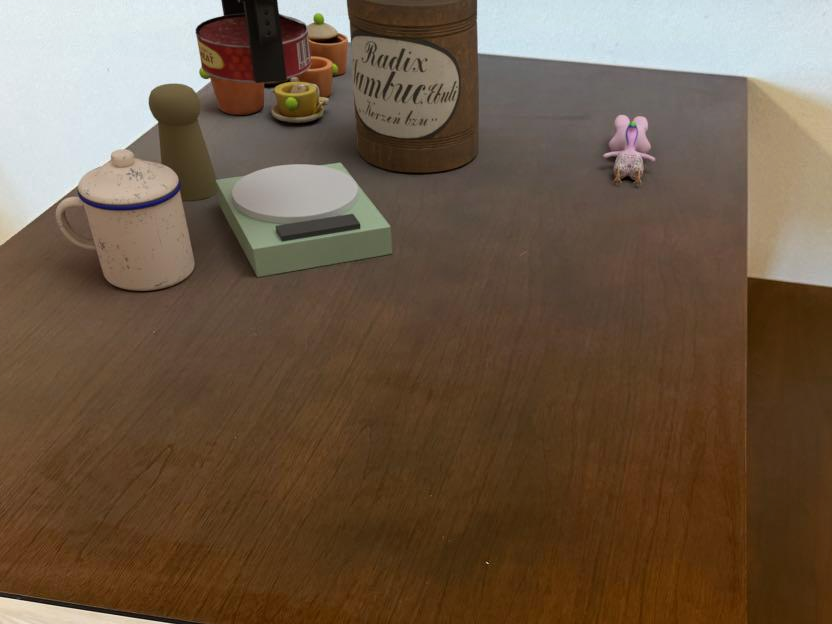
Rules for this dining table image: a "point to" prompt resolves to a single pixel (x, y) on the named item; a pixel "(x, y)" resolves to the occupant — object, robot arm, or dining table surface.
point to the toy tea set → (292, 81)
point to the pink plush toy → (629, 147)
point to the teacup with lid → (133, 222)
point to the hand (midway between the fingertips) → (256, 61)
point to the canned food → (248, 47)
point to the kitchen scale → (302, 218)
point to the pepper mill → (183, 139)
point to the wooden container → (415, 82)
